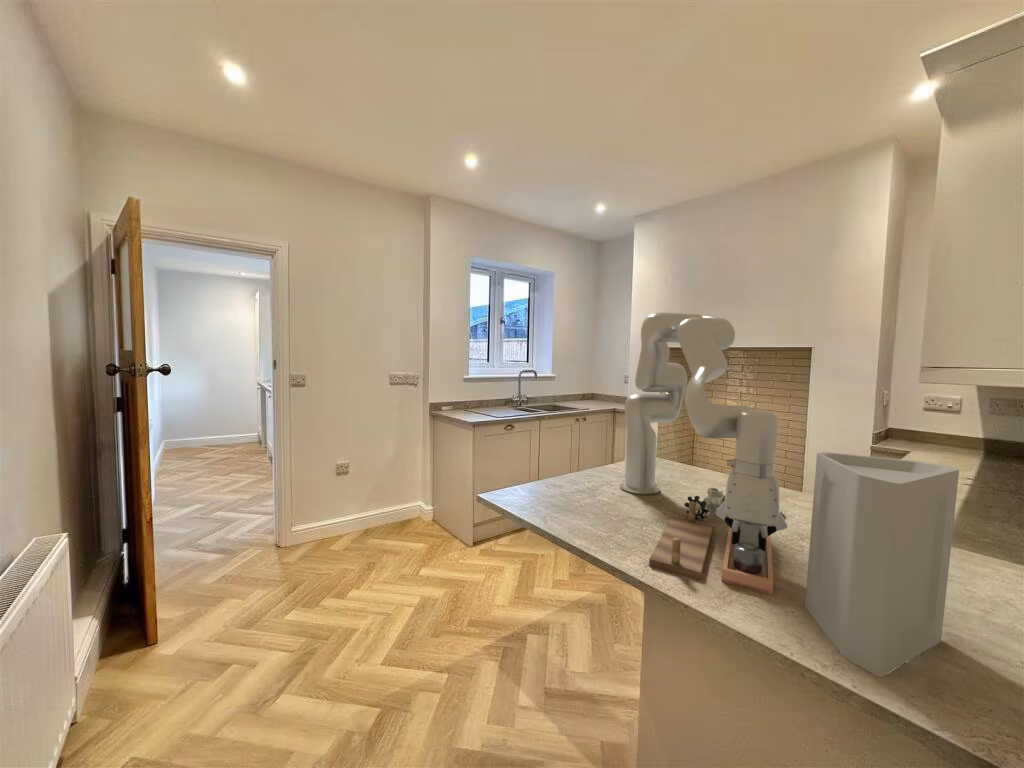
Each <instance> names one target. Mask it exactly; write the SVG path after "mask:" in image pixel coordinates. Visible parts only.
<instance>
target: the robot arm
mask: <svg viewBox="0 0 1024 768" xmlns="http://www.w3.org/2000/svg"><path fill="white" fill-rule="evenodd" d="M735 337H736V332H735V328H734V326H733V325H732V323H731V322H730V321H729V320H727V319H725V318H724V317H716V316H710V315H706V314H701V313H682V312H681V313H680V312H655V313H651V314H649V315H648V316H646V317H645V319H644V320H643V322H642V325H641V328H640V341H641V344H640V345H641V346H640V347H641V348H640V353H639V357H638V358H639V359H638V362H637V363H638V364H637V366H636V367H637V368H636V372H635V380H634V384H635V387H636V388H637V390H639V391H641V392H644V393H635V394H631V395H629V396H628V397H627V398H626V399H625V403H624V415H625V422H626V435H625V436H626V437H625V438H626V439H625V440H626V441H625V443H626V445H625V462H624V463H625V464H624V465H625V467H624V480H621V481H620V482H619V488H621V490H622V491H625V492H628V493H631V494H637V495H655V494H658V493H659V492H660V485H658V484H657V483H655V482H656V466H657V463H656V461H657V443H658V442H657V439H658V438H657V434H656V432H655V430H654V428H653V427H652V425H651V424H653V423H654V424H655V423H657V424H658V423H671V422H674V421H675V420H676V419H677V418H678V417H679V416H680V415H679V414H680V411H681V408H682V405H683V401H684V405H685V409H686V412H687V415H688V417H689V420H690V422H691V425H692V427H693V429H694V430H695V432H696V434H698V435H699V436H700V437H703V438H705V439H735V442H734V443H735V444H734V458H732V459H726V466H729V467H732V469H731V470H730V471H729V474H728V476H727V481H726V487H725V493H724V494H725V501H724V502H723V503H722V504H721V506H720V507H719V508H718V509H717V510H716V514H715V515H716V516H717V517H718V518H719V519H721V520H723V521H724V522H725V523H726V524H727V526H728V528H729V527H730V528H731V529H732V531H733V540H732V544H734V545H735V544H737V543H739V538H740V531H741V530H740V527H739V523H740V521H744V522H749V523H754V524H759V525H760V528H761V531H759V533H758V538H759V548H760V549H762V551H765V544H766V538H767V537H768V536H769V535H770V536H771V535H772V534H775V533H776V532H780V531H783V530H786V529H788V523H787V522H786V520H785V518H784V517H783V514H781V513H780V511H779V508H780V502H781V500H780V495H781V494H780V484H779V479H778V477H777V476H776V475H775V464H776V453H777V451H776V450H777V449H776V448H777V436H778V425H779V422H778V417H777V416H776V414H775V413H773V412H770V411H764V410H757V409H755V408H752V407H751V406H750V407H749V406H747V405H731V404H730V405H728V404H727V405H726V404H725V405H721V404H718V405H716V404H715V405H711V404H710V402H709V399H708V397H707V394H706V391H705V384H708V383H710V382H712V381H714V380H716V379H717V378H719V377H721V376H722V375H723V374H725V372H726V371H727V370H728V362H727V360H726V357H725V355H724V353H723V351H724V350H726V349H729V348H730V347H731V346H732V345H733V344H734V342H735V339H736V338H735ZM668 343H677V344H678V343H679V346H680V349H681V350H682V353H683V356H684V358H685V360H686V363H687V366H688V368H689V372H690V373H691V377H690V379H689V380H688V373H687V371H686V368H685V367H684V366H683V365H682V364H681V363H678V362H669V358H670V347H669V344H668Z"/></svg>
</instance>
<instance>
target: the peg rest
mask: <svg viewBox="0 0 1024 768" xmlns="http://www.w3.org/2000/svg"><path fill="white" fill-rule="evenodd" d="M688 503H689V508H688V510H689V515H688V518H685V517H681V516H677V515H671V517H670V519H669V521H668V523H667V525H666V526H665V528H664V530H663V532H662V534H661V536H660V538H659V540H658V541H657V544H656V545H655V548H653V549H654V550H653V551H652V553H651V555H650V557H649V560H648V563H649V564H648V566H649V567H652V568H656V569H659V570H662V571H663V570H664V571H667V572H671V573H675V574H678V575H681V576H685V577H690V578H693V579H697V580H701V579H702V576H703V571H704V567H705V563H706V560H707V556H708V552H709V551H708V550H709V548H710V543H711V539H712V536H713V532H714V523H710V522H707V521H701V520H695V514H696V513H697V511H696V503H695V502H689V501H688Z"/></svg>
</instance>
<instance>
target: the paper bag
mask: <svg viewBox="0 0 1024 768" xmlns="http://www.w3.org/2000/svg"><path fill="white" fill-rule="evenodd" d="M815 461H816V462H815V474H814V488H813V500H812V511H811V524H810V536H809V537H810V538H809V551H808V564H807V576H806V589H805V600H804V601H805V602H804V607H806V608H805V609H806V611H807V612H808V611H809V612H808V613H809V614H810V615H811V617H812V618H813V619H814V621H815V622H816V624H817V625H818V626H819V627H820V629H821V630H822V631H823V632H824V634H825V635H826V636H827V637H828V639H829V640H830V642H831V643H832V644H833V645H834V647H835V646H836V647H835V648H836V649H837V651H838V650H839V651H840V652H839V651H838V652H839V654H841V656H842V655H843V656H842V657H843V658H845V659H846V658H847V659H846V660H848V659H849V660H850V661H849V660H848V661H849V662H851V661H852V662H851V663H853V662H854V663H855V664H854V663H853V664H854V665H856V664H857V665H856V666H858V665H859V666H861V667H862V668H861V667H860V668H861V669H863V668H864V669H866V670H867V671H866V670H865V671H866V672H868V671H869V672H868V673H870V672H871V673H870V674H872V675H874V676H875V677H879V678H883V677H882V676H884V677H886V676H887V675H886V674H887V673H889V672H890V671H892V670H893V669H895V668H897V667H899V666H901V665H902V664H904V663H906V662H907V661H909V660H911V659H912V660H914V659H915V657H916V656H917V657H919V656H920V655H919V654H921V653H922V652H924V651H925V652H927V651H928V650H927V649H929V648H930V649H932V648H934V647H936V646H937V645H939V644H940V643H941V642H942V636H943V634H942V633H943V626H944V616H945V608H946V607H945V606H946V599H947V598H946V597H947V588H948V580H949V579H948V578H949V572H950V571H949V570H950V561H951V560H950V559H951V552H952V551H951V550H952V543H953V542H952V540H953V534H954V533H953V532H954V522H955V515H956V513H955V512H956V504H957V495H958V488H959V487H958V485H959V478H960V476H959V475H960V469H959V468H957V467H952V466H946V465H941V464H936V463H931V462H926V461H917V460H908V459H899V458H898V459H897V458H887V457H880V456H879V457H878V456H876V457H875V456H869V455H867V456H866V455H859V454H857V455H856V454H847V453H838V452H829V451H828V452H826V451H825V452H824V451H823V452H817V453H816V460H815ZM933 646H934V647H933ZM931 647H932V648H931ZM930 649H929V650H930ZM926 650H927V651H926ZM925 652H924V653H925ZM922 654H923V653H922ZM922 654H921V655H922ZM918 655H919V656H918ZM917 657H916V658H917ZM913 658H914V659H913ZM912 660H911V661H912ZM909 662H910V661H909ZM907 663H908V662H907ZM907 663H906V664H907ZM904 665H905V664H904ZM859 666H858V667H859ZM902 666H903V665H902ZM902 666H901V667H902ZM899 668H900V667H899ZM864 669H863V670H864ZM897 669H898V668H897ZM889 674H890V673H889ZM885 675H886V676H885Z"/></svg>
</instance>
